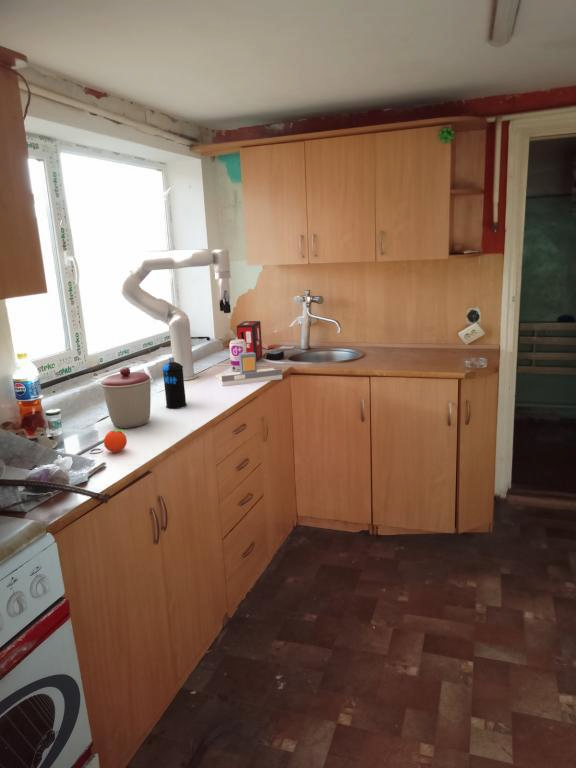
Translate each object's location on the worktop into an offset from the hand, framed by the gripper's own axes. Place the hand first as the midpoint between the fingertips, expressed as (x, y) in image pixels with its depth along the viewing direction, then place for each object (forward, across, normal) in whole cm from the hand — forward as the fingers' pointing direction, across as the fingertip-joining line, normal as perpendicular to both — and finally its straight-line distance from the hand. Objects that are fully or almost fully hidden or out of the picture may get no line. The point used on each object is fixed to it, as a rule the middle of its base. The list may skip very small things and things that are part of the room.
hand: (225, 311), depth 271 cm
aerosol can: (+31, +46, -31) cm, 63 cm away
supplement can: (+31, -6, +6) cm, 32 cm away
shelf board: (+30, +15, +6) cm, 34 cm away
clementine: (+31, +90, -54) cm, 109 cm away
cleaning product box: (+31, -27, +17) cm, 44 cm away
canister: (+31, +62, -49) cm, 85 cm away
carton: (+28, +15, +6) cm, 32 cm away
